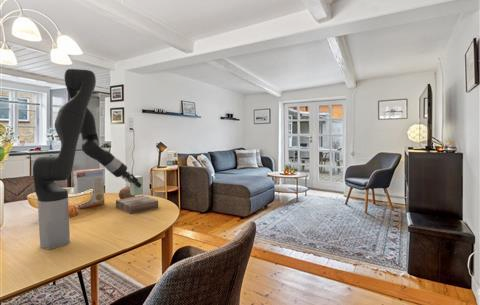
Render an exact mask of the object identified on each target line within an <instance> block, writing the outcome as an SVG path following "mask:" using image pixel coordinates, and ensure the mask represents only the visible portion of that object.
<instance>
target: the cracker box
mask: <svg viewBox="0 0 480 305" xmlns="http://www.w3.org/2000/svg"><path fill="white" fill-rule="evenodd" d="M72 171H73V186H74V187H73V189H74V195H75V194H77V193H81V192H84V191H86V190H89V189H93V190H94V193H93V195H92V197H91V199H90V200H89V201H88V202H86V203H84V204H81V205H78V206H77V208H76V209H79V210H80V209H85V208H90V207H94V206H100V205H104V204H105V203H106V202H105V187H104V186H105V184H104V169H103V168H91V169H80V170H72Z"/></svg>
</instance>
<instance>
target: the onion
mask: <svg viewBox="0 0 480 305" xmlns="http://www.w3.org/2000/svg"><path fill="white" fill-rule="evenodd" d="M131 197H136V195H135V196H134V195H131V194H130V186H128V185H127V186H125V187H123V188H121V189H120V190H119V192H118V198H119V200H120V199H125V198H131Z"/></svg>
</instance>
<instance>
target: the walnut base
mask: <svg viewBox="0 0 480 305" xmlns="http://www.w3.org/2000/svg"><path fill="white" fill-rule="evenodd" d="M115 208H117V209H119V210H121V211H124V212H126V213H127V214H130V215H131V213H132V214H136V213H140V212H144V211H148V210H153V209H157V208H159V200H158V199H155V198H153V197H152V198H151V197H149V196H147V195H144V194H141V195H135V197H131V198H125V199H120V198H119V199H116V200H115Z"/></svg>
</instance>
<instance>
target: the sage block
mask: <svg viewBox="0 0 480 305" xmlns="http://www.w3.org/2000/svg"><path fill="white" fill-rule="evenodd" d="M133 176H134V177H135V178H136V179H138V182H139V183H140V184H141V187H140V188H138V187H137V186H136V185H135V184H133V183H132V182H129V187H130V194H131V195H134V196H135V197H136V196H141V195H144V184H143V183H144V179H143V175H133ZM134 181H135V180H134Z"/></svg>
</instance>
